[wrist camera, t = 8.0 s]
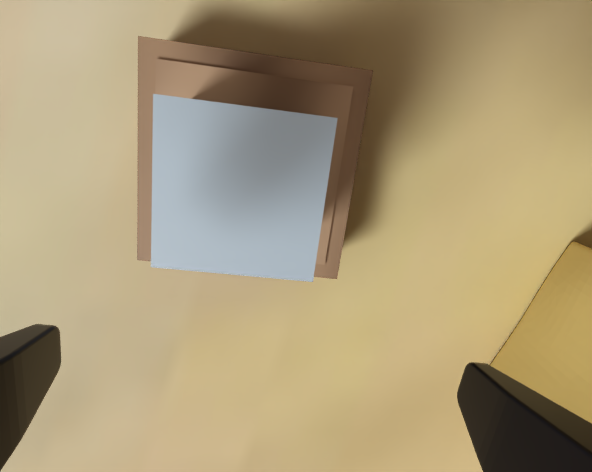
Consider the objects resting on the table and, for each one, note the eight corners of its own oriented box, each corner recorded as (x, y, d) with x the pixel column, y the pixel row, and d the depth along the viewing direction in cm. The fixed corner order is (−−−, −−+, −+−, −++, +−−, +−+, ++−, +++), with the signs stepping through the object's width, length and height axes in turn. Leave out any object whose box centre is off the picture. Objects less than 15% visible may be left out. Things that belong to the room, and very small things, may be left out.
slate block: (317, 115, 15) (337, 117, 11) (301, 233, 17) (312, 281, 12) (191, 99, 15) (153, 93, 10) (186, 222, 17) (150, 267, 12)
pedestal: (357, 76, 18) (373, 70, 15) (328, 255, 21) (337, 280, 18) (160, 48, 17) (136, 35, 14) (156, 238, 20) (136, 261, 17)
